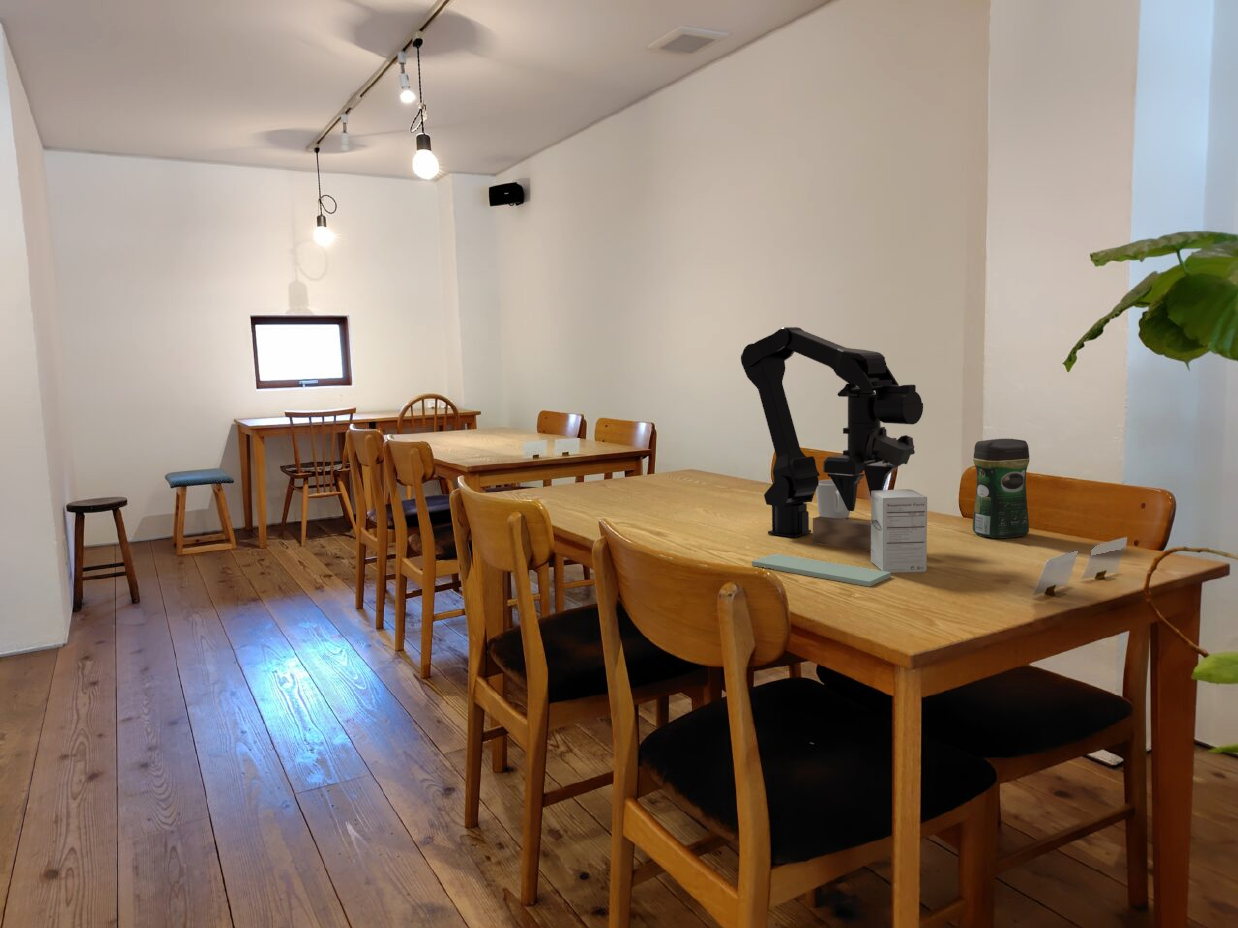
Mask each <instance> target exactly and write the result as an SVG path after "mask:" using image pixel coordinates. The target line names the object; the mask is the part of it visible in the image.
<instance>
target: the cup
mask: <svg viewBox="0 0 1238 928" xmlns="http://www.w3.org/2000/svg"><path fill="white" fill-rule="evenodd" d="M815 494H816V495H815V496H816V502H817V503H816V504H817V511H818V512H817V513H818V517H819V516H821V517H829V518H838V519H846V520H847V518H849V517H850V514H851V511H848V510H847V508H846V506H845V504H844V502H843V500H842V498H841V496H840V493H839V492H838V490H837V488H836V486H835V484H834V483H833V481H832V479H821V480H819V485H818V486H817V489H816V491H815Z"/></svg>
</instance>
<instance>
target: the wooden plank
mask: <svg viewBox="0 0 1238 928" xmlns="http://www.w3.org/2000/svg"><path fill="white" fill-rule="evenodd" d="M812 544H817V545H825V546H832V547H839V548H846V549H852V550H860V551H866V552H871V521H861V520H852V519H847V518H846V519H838V518H829V517H821V516H819V515H818V516H817V517H813V518H812Z"/></svg>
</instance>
